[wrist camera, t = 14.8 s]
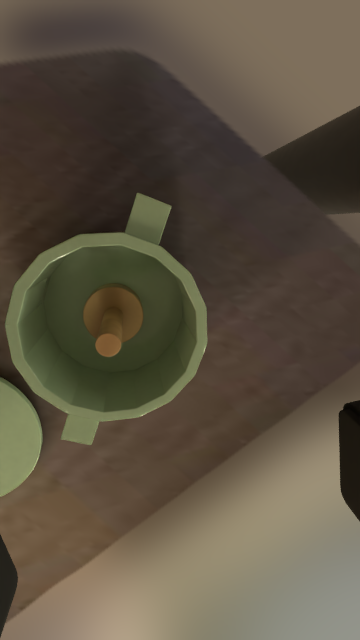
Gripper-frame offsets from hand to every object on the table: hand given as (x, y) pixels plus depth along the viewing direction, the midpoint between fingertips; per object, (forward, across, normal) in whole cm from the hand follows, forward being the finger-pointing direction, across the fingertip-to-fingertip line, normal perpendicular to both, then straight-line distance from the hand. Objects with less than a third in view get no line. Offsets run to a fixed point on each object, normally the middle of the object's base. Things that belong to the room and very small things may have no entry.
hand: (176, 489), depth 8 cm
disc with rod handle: (+22, +3, 0) cm, 22 cm away
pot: (+22, +3, 0) cm, 23 cm away
